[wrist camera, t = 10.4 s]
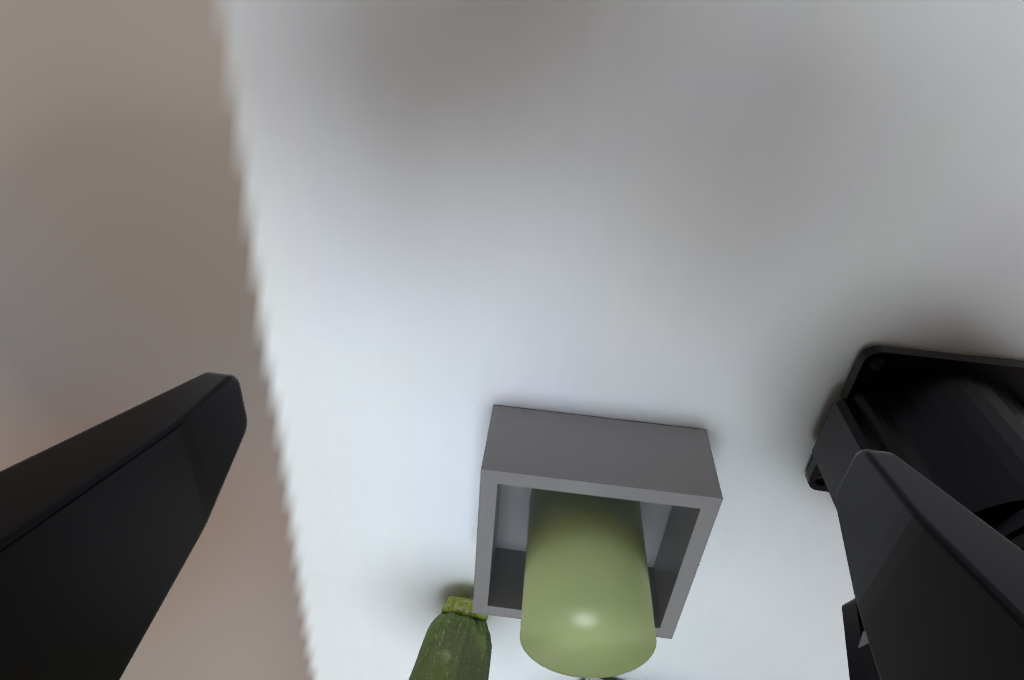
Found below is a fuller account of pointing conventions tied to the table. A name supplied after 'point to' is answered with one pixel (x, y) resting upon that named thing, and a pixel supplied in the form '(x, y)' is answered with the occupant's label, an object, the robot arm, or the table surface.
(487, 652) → the vegetable
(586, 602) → the olive cylinder
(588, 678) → the tea box
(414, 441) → the table surface
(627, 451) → the bin
